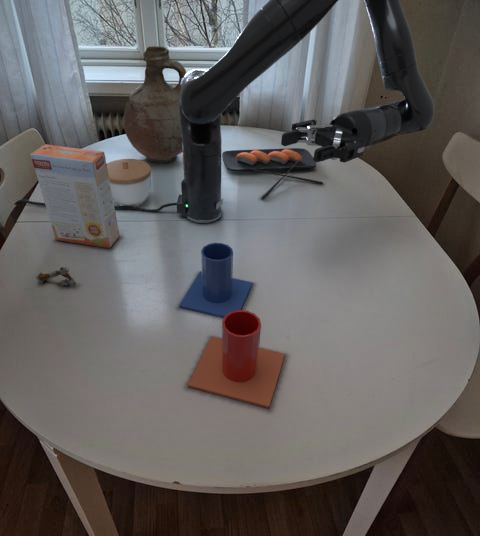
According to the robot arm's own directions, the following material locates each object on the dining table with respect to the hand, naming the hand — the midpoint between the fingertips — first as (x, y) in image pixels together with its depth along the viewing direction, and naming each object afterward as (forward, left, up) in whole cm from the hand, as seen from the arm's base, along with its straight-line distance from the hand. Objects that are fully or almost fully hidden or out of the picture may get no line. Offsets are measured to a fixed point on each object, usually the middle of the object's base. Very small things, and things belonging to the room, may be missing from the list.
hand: (298, 148), depth 77 cm
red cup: (-1, -31, -27) cm, 41 cm away
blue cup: (-11, -13, -28) cm, 32 cm away
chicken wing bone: (-44, -20, -28) cm, 56 cm away
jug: (-50, +47, -28) cm, 74 cm away
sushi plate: (-13, +47, -28) cm, 56 cm away
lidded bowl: (-46, +17, -28) cm, 56 cm away
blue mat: (-11, -13, -28) cm, 32 cm away
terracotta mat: (-1, -31, -28) cm, 41 cm away
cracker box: (-47, -3, -28) cm, 55 cm away
